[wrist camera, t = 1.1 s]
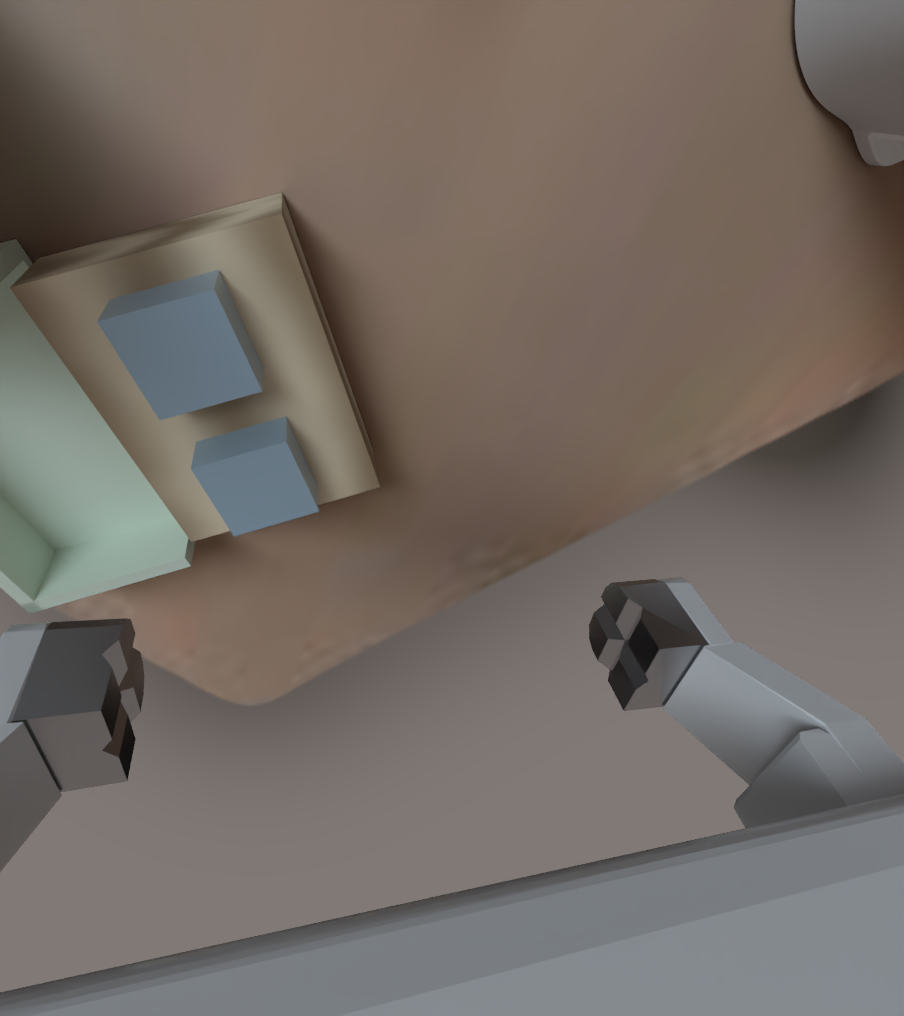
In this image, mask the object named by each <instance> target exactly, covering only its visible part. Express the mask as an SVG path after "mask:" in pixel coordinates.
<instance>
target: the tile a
mask: <svg viewBox="0 0 904 1016" xmlns="http://www.w3.org/2000/svg"><path fill="white" fill-rule="evenodd" d="M97 323H98V324H99V326H100V327H101V329H102V331H103V332H104V334H105V335H106V337H107V338H108V340H109V342H110V343H111V345H112V346H113V348H114V349H115V351H116V353H117V354H118V356H119V357H120V359H121V360H122V362H123V364H124V365H125V367H126V368H127V370H128V371H129V373H130V375H131V376H132V378H133V379H134V381H135V382H136V384H137V385H138V387H139V389H140V390H141V392H142V393H143V395H144V396H145V398H146V400H147V401H148V403H149V404H150V406H151V407H152V409H153V411H154V412H155V414H156V415H157V417H158V418H159V420H163V419H167V418H170V417H174V416H177V415H181V414H184V413H188V412H191V411H195V410H199V409H202V408H206V407H209V406H213V405H216V404H220V403H223V402H227V401H230V400H234V399H237V398H241V397H245V396H248V395H252V394H255V393H259V392H262V391H263V374H264V367H263V364H262V362H261V360H260V358H259V356H258V354H257V351H256V349H255V347H254V345H253V343H252V340H251V338H250V336H249V334H248V332H247V330H246V327H245V325H244V323H243V321H242V319H241V316H240V314H239V312H238V310H237V308H236V305H235V303H234V301H233V299H232V297H231V295H230V292H229V290H228V288H227V286H226V284H225V281H224V279H223V277H222V275H221V273H220V271H219V270H216V271H212V272H208V273H205V274H201V275H197V276H194V277H190V278H186V279H183V280H179V281H175V282H172V283H168V284H165V285H161V286H157V287H154V288H150V289H146V290H143V291H139V292H135V293H132V294H128V295H124V296H121V297H117V298H113V299H110V301H109V302H108V304H107V306H106V307H105V309H104V311H103V312H102V314H101V316H100V317H99V319H98V321H97Z"/></svg>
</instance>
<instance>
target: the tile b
mask: <svg viewBox="0 0 904 1016" xmlns="http://www.w3.org/2000/svg"><path fill="white" fill-rule="evenodd" d="M191 470H192V472H193V473H194V475H195V476H196V478H197V480H198V481H199V483H200V484H201V486H202V487H203V489H204V491H205V492H206V494H207V495H208V497H209V498H210V500H211V501H212V503H213V505H214V506H215V508H216V509H217V511H218V512H219V514H220V516H221V517H222V519H223V520H224V522H225V523H226V525H227V527H228V528H229V530H230V531H231V533H232V534H233V536H237V535H241V534H244V533H248V532H251V531H255V530H258V529H261V528H265V527H268V526H272V525H275V524H279V523H282V522H285V521H289V520H292V519H296V518H299V517H303V516H306V515H309V514H313V513H316V512H319V498H318V485H317V483H316V480H315V478H314V476H313V474H312V472H311V469H310V467H309V465H308V463H307V461H306V458H305V456H304V454H303V452H302V450H301V448H300V445H299V443H298V441H297V439H296V437H295V434H294V432H293V430H292V428H291V426H290V424H289V421H288V419H287V417H286V416H285V417H281V418H278V419H274V420H271V421H267V422H264V423H260V424H257V425H253V426H250V427H246V428H243V429H239V430H236V431H232V432H229V433H225V434H222V435H218V436H215V437H211V438H208V439H204V440H201V441H197V442H196V445H195V450H194V455H193V460H192V465H191Z"/></svg>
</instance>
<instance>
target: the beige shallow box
mask: <svg viewBox="0 0 904 1016" xmlns="http://www.w3.org/2000/svg"><path fill="white" fill-rule="evenodd" d="M216 270H219V271H220V273H221V275H222V277H223V279H224V281H225V284H226V286H227V288H228V290H229V292H230V295H231V297H232V299H233V301H234V303H235V305H236V308H237V310H238V312H239V314H240V316H241V319H242V321H243V323H244V325H245V327H246V330H247V332H248V334H249V336H250V338H251V340H252V343H253V345H254V347H255V349H256V351H257V354H258V356H259V358H260V360H261V362H262V364H263V367H264V374H263V391H262V392H259V393H255V394H252V395H248V396H245V397H241V398H237V399H234V400H230V401H227V402H223V403H220V404H216V405H213V406H209V407H206V408H202V409H199V410H195V411H191V412H188V413H184V414H181V415H177V416H174V417H170V418H167V419H163V420H159V418H158V417H157V415H156V414H155V412H154V411H153V409H152V407H151V406H150V404H149V403H148V401H147V400H146V398H145V396H144V395H143V393H142V392H141V390H140V389H139V387H138V385H137V384H136V382H135V381H134V379H133V378H132V376H131V375H130V373H129V371H128V370H127V368H126V367H125V365H124V364H123V362H122V360H121V359H120V357H119V356H118V354H117V353H116V351H115V349H114V348H113V346H112V345H111V343H110V342H109V340H108V338H107V337H106V335H105V334H104V332H103V331H102V329H101V327H100V326H99V324H98V323H97V321H98V319H99V317H100V316H101V314H102V312H103V311H104V309H105V307H106V306H107V304H108V302H109V301H110V299H113V298H117V297H121V296H124V295H128V294H132V293H135V292H139V291H143V290H146V289H150V288H154V287H157V286H161V285H165V284H168V283H172V282H175V281H179V280H183V279H186V278H190V277H194V276H197V275H201V274H205V273H208V272H212V271H216ZM10 289H11V290H12V292H13V293H14V295H15V296H16V297H17V299H18V300H19V302H20V303H21V304H22V306H23V307H24V309H25V310H26V311H27V313H28V314H29V316H30V317H31V318H32V320H33V321H34V323H35V324H36V325H37V327H38V328H39V330H40V331H41V332H42V334H43V335H44V337H45V338H46V339H47V341H48V342H49V344H50V345H51V346H52V348H53V349H54V351H55V352H56V353H57V355H58V356H59V358H60V359H61V360H62V362H63V363H64V365H65V366H66V367H67V369H68V370H69V372H70V373H71V374H72V376H73V377H74V378H75V380H76V381H77V383H78V384H79V385H80V387H81V388H82V390H83V391H84V392H85V394H86V395H87V397H88V398H89V399H90V401H91V402H92V404H93V405H94V406H95V408H96V409H97V411H98V412H99V413H100V415H101V416H102V418H103V419H104V420H105V422H106V423H107V425H108V426H109V427H110V429H111V430H112V432H113V433H114V434H115V436H116V437H117V439H118V440H119V441H120V443H121V444H122V446H123V447H124V448H125V450H126V451H127V453H128V454H129V455H130V457H131V458H132V460H133V461H134V462H135V464H136V465H137V467H138V468H139V469H140V471H141V472H142V473H143V475H144V476H145V478H146V479H147V480H148V482H149V483H150V485H151V486H152V487H153V489H154V490H155V492H156V493H157V494H158V496H159V497H160V499H161V500H162V501H163V503H164V504H165V506H166V507H167V508H168V510H169V511H170V513H171V514H172V515H173V517H174V518H175V520H176V521H177V522H178V524H179V525H180V527H181V528H182V529H183V531H184V532H185V534H186V535H187V536H188V538H189V539H190V541H191V542H194V541H197V540H200V539H204V538H207V537H211V536H214V535H218V534H221V533H224V532H228V531H230V530H229V528H228V527H227V525H226V523H225V522H224V520H223V519H222V517H221V516H220V514H219V512H218V511H217V509H216V508H215V506H214V505H213V503H212V501H211V500H210V498H209V497H208V495H207V494H206V492H205V491H204V489H203V487H202V486H201V484H200V483H199V481H198V480H197V478H196V476H195V475H194V473H193V472H192V470H191V465H192V460H193V455H194V450H195V445H196V442H197V441H201V440H204V439H208V438H211V437H215V436H218V435H222V434H225V433H229V432H232V431H236V430H239V429H243V428H246V427H250V426H253V425H257V424H260V423H264V422H267V421H271V420H274V419H278V418H281V417H285V416H286V417H287V419H288V421H289V424H290V426H291V428H292V430H293V432H294V434H295V437H296V439H297V441H298V443H299V445H300V448H301V450H302V452H303V454H304V456H305V458H306V461H307V463H308V465H309V467H310V469H311V472H312V474H313V476H314V478H315V480H316V483H317V485H318V498H319V505H321V504H324V503H328V502H331V501H335V500H338V499H341V498H345V497H348V496H352V495H355V494H359V493H362V492H365V491H369V490H372V489H376V488H379V487H380V482H379V477H378V472H377V467H376V462H375V457H374V452H373V449H372V446H371V443H370V440H369V438H368V435H367V432H366V429H365V426H364V423H363V421H362V418H361V415H360V412H359V409H358V406H357V404H356V401H355V398H354V395H353V392H352V389H351V387H350V384H349V381H348V378H347V375H346V372H345V370H344V367H343V364H342V361H341V358H340V355H339V353H338V350H337V347H336V344H335V341H334V338H333V336H332V333H331V330H330V327H329V324H328V321H327V319H326V316H325V313H324V310H323V307H322V304H321V302H320V299H319V296H318V293H317V290H316V287H315V285H314V282H313V279H312V276H311V273H310V270H309V268H308V265H307V262H306V259H305V256H304V253H303V251H302V248H301V245H300V242H299V239H298V236H297V234H296V231H295V228H294V225H293V222H292V219H291V217H290V214H289V211H288V208H287V205H286V202H285V199H284V197H283V194H282V192H281V193H278V194H274V195H270V196H267V197H263V198H259V199H256V200H252V201H248V202H244V203H241V204H237V205H233V206H230V207H226V208H222V209H219V210H215V211H211V212H207V213H204V214H200V215H196V216H193V217H189V218H185V219H182V220H178V221H174V222H170V223H167V224H163V225H159V226H156V227H152V228H148V229H145V230H141V231H137V232H133V233H130V234H126V235H122V236H119V237H115V238H111V239H108V240H104V241H100V242H96V243H93V244H89V245H85V246H82V247H78V248H74V249H71V250H67V251H63V252H59V253H56V254H52V255H48V256H45V257H41V258H38V259H37V260H36V261H35V262H34V263H33V264H32V266H31V267H30V268H29V269H28V270H27V271H26V272H25V273H24V274H23V275H22V276H21V277H20V278H19V279H18V280H17V281H16V282H15V283H14V284H13V285H12V286H11V287H10Z"/></svg>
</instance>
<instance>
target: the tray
mask: <svg viewBox="0 0 904 1016" xmlns="http://www.w3.org/2000/svg"><path fill="white" fill-rule="evenodd" d="M32 264H33V263H32V262H31V260H30V259H29V257H28V256H27V254H26V253H25V251H24V250H23V248H22V247H21V245H20V244H19V242H18V241H17V239H14V240H10V241H6V242H2V243H0V587H1V588H2V589H3V590H4V591H5V592H7V593H8V594H9V595H10V596H11V597H12V598H13V599H14V600H15V601H17V602H18V603H19V604H20V605H21V606H22V607H23V608H24V609H26V610H27V611H28V612H29V613H33V612H36V611H40V610H43V609H46V608H50V607H53V606H57V605H60V604H64V603H67V602H70V601H74V600H77V599H81V598H84V597H88V596H91V595H94V594H98V593H101V592H105V591H108V590H111V589H115V588H118V587H122V586H125V585H129V584H132V583H135V582H139V581H142V580H146V579H149V578H153V577H156V576H159V575H163V574H166V573H170V572H173V571H176V570H180V569H183V568H187V567H190V566H191V565H192V559H193V553H194V547H195V541H194V542H191V541H190V539H189V538H188V536H187V535H186V534H185V532H184V531H183V529H182V528H181V527H180V525H179V524H178V522H177V521H176V520H175V518H174V517H173V515H172V514H171V513H170V511H169V510H168V508H167V507H166V506H165V504H164V503H163V501H162V500H161V499H160V497H159V496H158V494H157V493H156V492H155V490H154V489H153V487H152V486H151V485H150V483H149V482H148V480H147V479H146V478H145V476H144V475H143V473H142V472H141V471H140V469H139V468H138V467H137V465H136V464H135V462H134V461H133V460H132V458H131V457H130V455H129V454H128V453H127V451H126V450H125V448H124V447H123V446H122V444H121V443H120V441H119V440H118V439H117V437H116V436H115V434H114V433H113V432H112V430H111V429H110V427H109V426H108V425H107V423H106V422H105V420H104V419H103V418H102V416H101V415H100V413H99V412H98V411H97V409H96V408H95V406H94V405H93V404H92V402H91V401H90V399H89V398H88V397H87V395H86V394H85V392H84V391H83V390H82V388H81V387H80V385H79V384H78V383H77V381H76V380H75V378H74V377H73V376H72V374H71V373H70V372H69V370H68V369H67V367H66V366H65V365H64V363H63V362H62V360H61V359H60V358H59V356H58V355H57V353H56V352H55V351H54V349H53V348H52V346H51V345H50V344H49V342H48V341H47V339H46V338H45V337H44V335H43V334H42V332H41V331H40V330H39V328H38V327H37V325H36V324H35V323H34V321H33V320H32V318H31V317H30V316H29V314H28V313H27V311H26V310H25V309H24V307H23V306H22V304H21V303H20V302H19V300H18V299H17V297H16V296H15V295H14V293H13V292H12V290H11V289H10V287H11V286H12V285H13V284H14V283H15V282H16V281H17V280H18V279H19V278H20V277H21V276H22V275H23V274H24V273H25V272H26V271H27V270H28V269H29V268H30V267H31V266H32Z"/></svg>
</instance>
